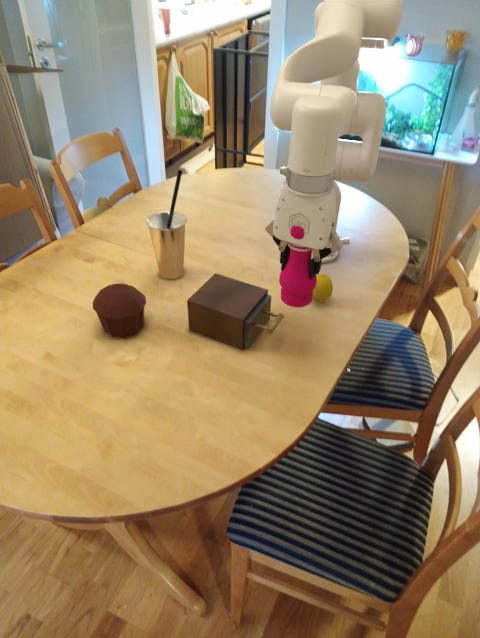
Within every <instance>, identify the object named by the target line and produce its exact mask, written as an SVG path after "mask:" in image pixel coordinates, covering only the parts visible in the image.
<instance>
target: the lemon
mask: <svg viewBox="0 0 480 638" xmlns="http://www.w3.org/2000/svg"><path fill="white" fill-rule="evenodd" d="M316 275H317V284H316V287H315V288H314V290H313V296H312V300H314V301H316V302H318V303H322V302H323V303H324V302H326V301H328V300H329V299H330V298H331V296H332V294H333V289H334V285H333V280H332V278H331V277H330V276H329V275H327V274H325V273H320V274H316Z"/></svg>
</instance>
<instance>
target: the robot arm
mask: <svg viewBox="0 0 480 638" xmlns="http://www.w3.org/2000/svg"><path fill="white" fill-rule="evenodd" d="M402 17H403V0H323V1H321V2H320V3H318V5H316V8H315V10H314V14H313V28H314V37H313V38H312V39H310V40H309V41H307V42H306V43H304V44H303V45H301V46H300V47H298V48H297V49H295V50H294V51H293V52H292V53H291V54H289V55H288V57H286V59H285V60H284V61H283V63H282V64H281V66H280V68H279V71H278V72H277V77H276V80H275V83H274V87H273V90H272V95H271V98H270V99H271V100H270V106H269V115H270V116H269V117H270V120H271V123H272V124H273V125H274V127H275V128H277V129H279V130H281V131H284V132H290V136H289V137H290V138H289V150H288V161H287V162H288V163H287V165H281V166H280V169H279V174H280V175H283V176H284V177H285V181H284V182H282V183H281V186H280V189H279V193H278V196H277V199H276V200H277V201H276V206H275V210H274V218H273V220H272V221H271V222H270V223H268V225H267V226H265V228H264V230H265V231H266V233H267V234H268V235H269V236H270V237H272V241H274V243H275V244H276V245H277V247H278V248H277V249H278V251H279V252H280V254H279V264H280V267H281V268H280V271H283V270H284V268H285V266H286V263H287V260H288V258H289V255H290V247H289V246H288V242H289V243H293V244H297V245H300V246H304V247H308V248H311V249H312V254H311V259H312V260H311V261H310V268H309V279H313V277H314V276H315V275H319V273H320V272H321V267H322V264H326V263H329V262H332V261H334V260H335V259H337V257H338V254H339V252H340V251H341V250H342V248H343V247H344V246H347V245H350V243H351V240H350V238H349V237H342V235H341V234H338V233H337V226H338V220H339V215H340V208H341V202H342V192H341V189H340V186H339V184H338V182H337V181H343V182H354V183H368V182H370V181H371V180H372V179H373V178H374V175H375V172H376V169H377V165H378V159H379V156H380V155H379V154H380V149H381V143H382V139H383V133H384V128H385V121H386V115H387V102H386V99H385V97H384V96H383V95H382V94H381V93H378V92H373V91H360V90H359V89H358V85H359V78H360V72H361V65H360V64H361V63H360V61H359V56H360V53H361V49H365V50H387V49H389V48H390V47H391V46H392V45H393V44H394V42H395V40H396V37H397V36H398V32H399V29H400V26H401V22H402ZM316 82H320V83H316ZM345 135H348V136H349V135H350V136H358V137H360V138H361V140H360V141H359V140H350V139H342V138H341V137H342V136H345ZM292 226H299V227H300V226H301V227H302V228H303V229H304V233H305V234H304V237H303V238H302V239H295V238H293V237H292V236H291V234H290V231H291V229H292ZM290 228H291V229H290Z"/></svg>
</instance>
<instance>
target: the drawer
mask: <svg viewBox="0 0 480 638" xmlns="http://www.w3.org/2000/svg"><path fill="white" fill-rule="evenodd" d="M271 308H272V295H269V294H268V295H266V296H265V297H264V299H263V300H262V301H261V302H260V303H259V304H258V305H257V306H256V307H255V309H254V310H253V311H252V312H251V313H250V315H249V316H248V317H247V318H246V319H245V322H244V346H245V348H249V347H251V345H252V343H253V342H254V341H255V340H256V338H257V337H258V336H259V335H260V334H261V332H262V330H265V331H266V332H267V333H268V334H269V335H272V334H273V333H274V332H275V330H277V327H278V326H279V325H280V323H282V321H283V320H284V318H285V315H284V314H283V313H282V312H279V313H277V312H276V313H275V312H272V310H271ZM271 317H273V318H274V319H273V320H272V322H271V323H270V325H268V323H269V321H270V320H271ZM267 325H268V326H267Z"/></svg>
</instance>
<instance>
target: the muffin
mask: <svg viewBox="0 0 480 638" xmlns="http://www.w3.org/2000/svg"><path fill="white" fill-rule="evenodd" d="M146 305H147V299H146V295H145V294H144V293H143V292H141V291H140V290H138V289H137V288H136V287H135V286H133V285H129V284H127V283H113V284H108V285H106V286H105V287H103V288H101V289H100V290H99V291H98V292H97V294H96V295H95V297H94V299H93V301H92V310H93V311H94V312H95V313H96V315H97V317H98V319H99V322H100V324H101V326H102V328H103V331H104V332H105V333H106V334H108V335H109V336H111V338H121V339H126V338H128V337H130V336H135V335H137V334H138V333H139V332H140V331H141V330H142V329H143V328H144V318H145V317H144V316H145V306H146Z"/></svg>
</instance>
